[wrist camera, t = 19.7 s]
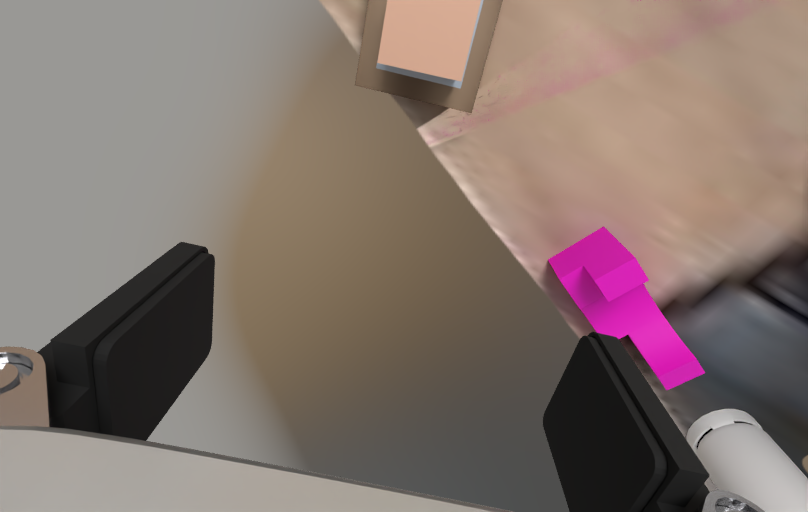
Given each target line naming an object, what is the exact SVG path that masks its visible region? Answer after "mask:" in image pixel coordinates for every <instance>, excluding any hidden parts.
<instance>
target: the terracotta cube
mask: <svg viewBox="0 0 808 512" xmlns="http://www.w3.org/2000/svg"><path fill="white" fill-rule="evenodd" d="M480 3H481V0H387V5H386V12H385V18H384V24H383V30H382V37H381V43H380V49H379V55H378V61H377V63H380V64H385V65H389V66H394V67H398V68H403V69H407V70H412V71H416V72H421V73H425V74H430V75H434V76H438V77H443V78H447V79H452V80H456V81H462V77H463V73H464V69H465V65H466V61H467V56H468V52H469V48H470V44H471V40H472V36H473V32H474V27H475V23H476V19H477V15H478V11H479V7H480Z"/></svg>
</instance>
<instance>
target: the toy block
mask: <svg viewBox="0 0 808 512" xmlns="http://www.w3.org/2000/svg"><path fill="white" fill-rule="evenodd" d="M548 261H549V263H550V264H551V266H552V268H553V270H554V271H555V273H556V275H557V276H558V278H559V280H560V281H561V283H562V284H563V286H564V287H565V288H566V290H567V291H568V293H569V294H570V296H571V297H572V299H573V300H574V301H575V303H576V304H577V306H578V307H579V309H580V310H581V311H582V312H583V314H584V315H585V316H586V318H587V319H588V320H589V322H590V323H591V325H592V326H593V328H594V329H595V330H596V332H597V333H601V334H605V335H610V336H614V337H617V338H618V339H620V338H622V337H624V336H626V335H628V336H629V337H630V339H631V340H632V342H633V343H634V345H635V346H636V348H637V349H638V350H639V352H640V353H641V355H642V356H643V358H644V359H645V360H646V362H647V363H648V365H649V366H650V367H651V369H652V370H653V372H654V373H655V374H656V376H657V377H658V379H659V380H660V381H661V383H662V384H663V386H664V387H665V389H666V390H669V389H671V388H673V387H675V386H677V385H680V384H682V383H684V382H686V381H688V380H691V379H693V378H695V377H697V376H699V375H702V374H704V373H705V372H704V370H703V369H702V367H701V365H700V364H699V362H698V360H697V359H696V358H695V356H694V355H693V354H692V353H691V352H690V350H689V349H688V348H687V347H686V345H685V344H684V343H683V342H682V340H681V339H680V338H679V336H678V335H677V334H676V332H675V331H674V330H673V328H672V327H671V326H670V324H669V323H668V321H667V320H666V319H665V317H664V316H663V314H662V313H661V311H660V310H659V309H658V307H657V306H656V304H655V302H654V301H653V299H652V298H651V296H650V295H649V293H648V291H647V289H646V288H645V286H644V284H643V283H645V282H647V281H649V280H648V278H647V276H646V275H645V273H644V271H643V270H642V268H641V266H640V265H639V263H638V261H637V260H636V258H635V257H634V256H633V255H632V254H631V253H630V252H629V251H628V250H627V249H626V248H625V247H624V246H623V245H622V244H621V243H620V242H619V241H618V240H617V239H616V238H615V237H614V236H613V235H612V234H611V233H610V232H609V231H608V230H607V229H606V228H605V227H602V228H600V229H599V230H597V231H595V232H594V233H592V234H590V235H589V236H587V237H585V238H584V239H582V240H580V241H579V242H577V243H575V244H574V245H572V246H570V247H569V248H567V249H565V250H564V251H562V252H560V253H559V254H557V255H555V256H554V257H552V258H550V259H548Z"/></svg>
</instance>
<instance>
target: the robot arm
mask: <svg viewBox="0 0 808 512" xmlns="http://www.w3.org/2000/svg"><path fill="white" fill-rule="evenodd" d="M214 267H215V259H214V256H213V255H212V254H208V249H207V248H206V247H203V246H198V245H194V244H189V243H185V242H181V243H179V244H177V245H176V246H175V247H173V248H172V249H170V250H169V251H168V252H167V253H165V254H164V255H162V256H161V257H160V258H159V259H157V260H156V261H155V262H153V263H152V264H151V265H150V266H148V267H147V268H145V269H144V270H143V271H141V272H140V273H139V274H137V275H136V276H135V277H133V278H132V279H131V280H129V281H128V282H127V283H126V284H124V285H123V286H121V287H120V288H119V289H118V290H116V291H115V292H114V293H112V294H111V295H110V296H108V297H107V298H106V299H104V300H103V301H102V302H100V303H99V304H98V305H96V306H95V307H94V308H92V309H91V310H90V311H88V312H87V313H86V314H84V315H83V316H82V317H81V318H79V319H78V320H77V321H75V322H74V323H73V324H71V325H70V326H69V327H67V328H66V329H65V330H63V331H62V332H61V333H59V334H58V335H57V336H55V337H54V338H53V339H51V342H50V343H49V344H47V345H46V346H45V347H44V348H42V349H41V350H40V351H38V352H35V351H34V350H30V349H26V348H22V347H0V512H512V511H507V510H502V509H497V508H492V507H488V506H483V505H478V504H473V503H467V502H463V501H458V500H452V499H448V498H442V497H437V496H432V495H427V494H422V493H416V492H412V491H407V490H401V489H397V488H392V487H386V486H381V485H376V484H371V483H366V482H361V481H356V480H351V479H345V478H340V477H335V476H330V475H325V474H320V473H314V472H309V471H304V470H299V469H294V468H288V467H283V466H278V465H273V464H267V463H262V462H257V461H252V460H246V459H241V458H236V457H230V456H225V455H220V454H215V453H210V452H204V451H199V450H194V449H188V448H182V447H177V446H172V445H165V444H160V443H155V442H149V441H146V440H147V439H148V437H149V436H150V435H151V433H152V432H153V431H154V429H155V428H156V426H157V425H158V424H159V422H160V421H161V420H162V418H163V417H164V415H165V414H166V413H167V411H168V410H169V408H170V407H171V406H172V405H173V403H174V402H175V400H176V399H177V398H178V396H179V395H180V394H181V392H182V391H183V389H184V388H185V386H186V385H187V384H188V383H189V381H190V379H191V378H192V377H193V376H194V374H195V373H196V371H197V370H198V369H199V368H200V366H201V365H202V363H203V362H204V361H205V359H206V358H207V356H208V354H209V352H210V349H211V344H212V322H213V320H212V319H213V294H214ZM543 427H544V430H545V433H546V437H547V440H548V443H549V446H550V449H551V453H552V456H553V459H554V462H555V465H556V469H557V472H558V475H559V479H560V481H561V485H562V488H563V491H564V494H565V498H566V501H567V504H568V508H569V511H570V512H765V511H764V510H762V509H761V508H760V507H758V506H757V505H755V504H754V503H752V502H751V501H749V500H747V499H745V498H744V497H742V496H740V495H737V494H735V493H732V492H729V491H724V490H715V491H711V492H709V490H708V489H707V487H706V486H705V484H704V482H705V481H706V480H707V478H708V477H709V476H710V475H709V473H708V472H707V470H706V469H705V467H704V466H703V464H702V463H701V461H700V460H699V458H698V457H697V455H696V454H695V452H694V451H693V449H692V448H691V446H690V445H689V443H688V442H687V441H686V439H685V438H684V436H683V435H682V433H681V432H680V430H679V429H678V427H677V426H676V424H675V423H674V421H673V420H672V418H671V417H670V415H669V414H668V412H667V411H666V409H665V408H664V406H663V405H662V403H661V402H660V400H659V399H658V397H657V396H656V394H655V393H654V391H653V390H652V388H651V387H650V385H649V384H648V382H647V381H646V379H645V378H644V376H643V375H642V373H641V372H640V371H639V369H638V368H637V366H636V365H635V363H634V362H633V360H632V359H631V357H630V356H629V354H628V353H627V351H626V350H625V348H624V347H623V345H622V344H621V342H620V341H619V339H618V338H617V337H614V336H610V335H605V334H601V333H596V332H592V333H590V334H589V335H588V336H583V337H582V338H581V339H580V341H579V343H578V345H577V347H576V349H575V351H574V353H573V355H572V357H571V359H570V361H569V363H568V365H567V367H566V369H565V371H564V374H563V376H562V378H561V380H560V382H559V384H558V386H557V388H556V390H555V392H554V394H553V396H552V398H551V400H550V402H549V404H548V406H547V408H546V411H545V413H544V417H543Z"/></svg>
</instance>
